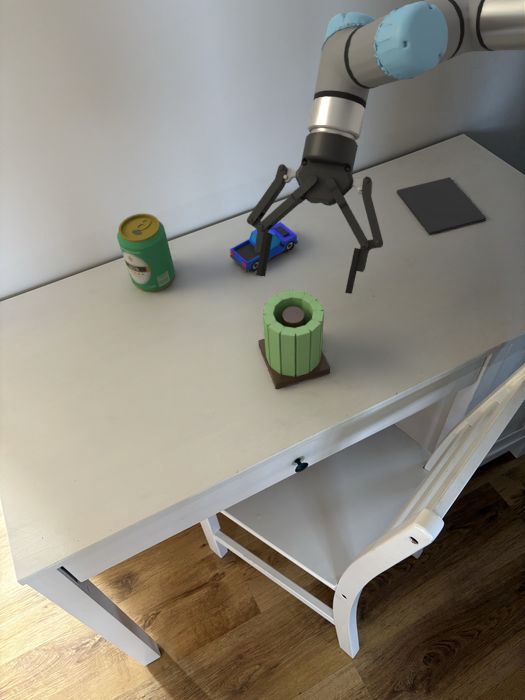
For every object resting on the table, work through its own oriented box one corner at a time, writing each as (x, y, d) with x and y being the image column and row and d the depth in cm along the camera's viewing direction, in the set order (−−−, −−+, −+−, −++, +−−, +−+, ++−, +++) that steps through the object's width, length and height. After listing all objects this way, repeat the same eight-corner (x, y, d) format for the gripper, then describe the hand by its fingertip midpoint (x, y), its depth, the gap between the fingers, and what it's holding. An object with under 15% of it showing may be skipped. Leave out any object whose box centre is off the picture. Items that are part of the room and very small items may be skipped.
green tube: (329, 367, 83) (332, 326, 75) (276, 382, 81) (274, 342, 73) (309, 326, 88) (311, 284, 80) (259, 340, 86) (255, 298, 78)
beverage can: (123, 285, 98) (105, 234, 88) (148, 257, 102) (133, 206, 92) (159, 299, 95) (144, 248, 86) (184, 270, 99) (172, 218, 90)
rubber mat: (485, 220, 103) (486, 217, 103) (429, 235, 102) (429, 232, 101) (449, 179, 112) (449, 176, 111) (396, 192, 110) (396, 189, 109)
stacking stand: (330, 373, 84) (334, 329, 75) (275, 389, 82) (273, 346, 74) (310, 331, 89) (311, 285, 80) (258, 345, 88) (254, 300, 79)
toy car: (300, 249, 101) (300, 228, 97) (249, 278, 97) (247, 258, 93) (278, 231, 104) (277, 210, 101) (228, 258, 100) (225, 238, 97)
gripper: (420, 155, 77) (387, 300, 81) (256, 133, 83) (233, 269, 86) (422, 142, 70) (386, 301, 74) (242, 119, 76) (217, 268, 79)
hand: (303, 284), depth 80 cm, fingers open, 13 cm apart
